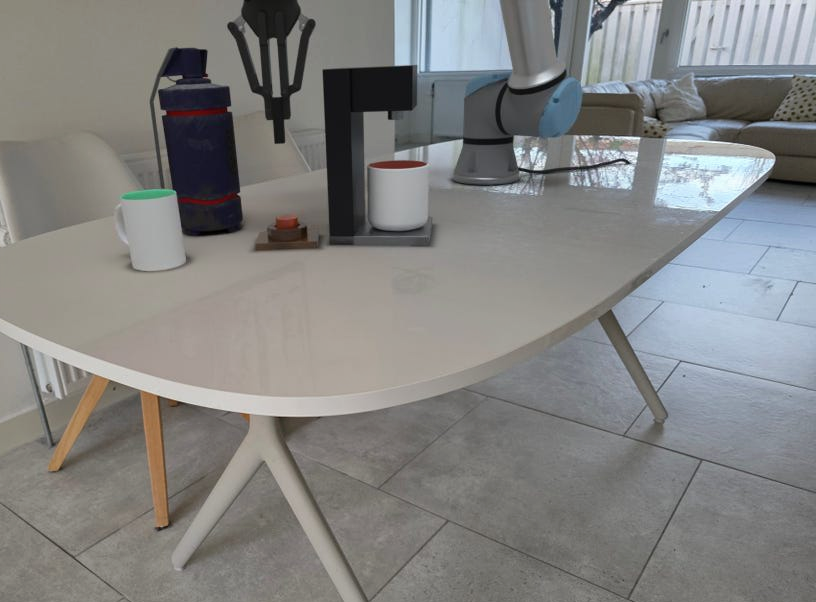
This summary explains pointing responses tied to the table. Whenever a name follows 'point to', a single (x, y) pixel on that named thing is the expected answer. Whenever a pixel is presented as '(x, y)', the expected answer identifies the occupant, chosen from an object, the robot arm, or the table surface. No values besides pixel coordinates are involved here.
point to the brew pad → (287, 238)
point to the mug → (151, 229)
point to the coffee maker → (362, 147)
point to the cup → (398, 194)
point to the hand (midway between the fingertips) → (280, 142)
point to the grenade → (198, 143)
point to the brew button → (286, 221)
